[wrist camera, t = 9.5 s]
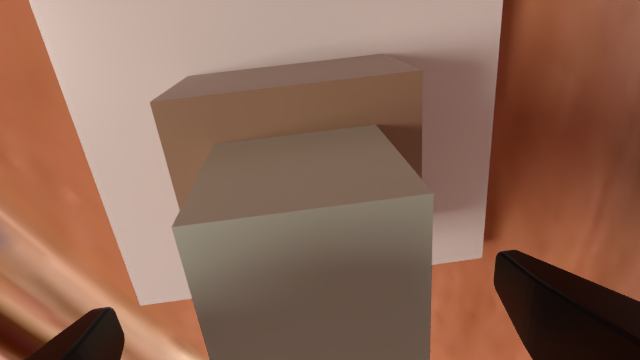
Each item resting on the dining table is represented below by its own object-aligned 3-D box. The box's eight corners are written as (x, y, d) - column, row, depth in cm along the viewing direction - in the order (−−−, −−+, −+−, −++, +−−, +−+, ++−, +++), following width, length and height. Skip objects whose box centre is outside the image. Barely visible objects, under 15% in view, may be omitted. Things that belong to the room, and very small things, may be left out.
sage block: (375, 124, 12) (433, 193, 7) (381, 258, 14) (429, 377, 10) (213, 144, 12) (171, 227, 7) (242, 277, 14) (224, 407, 9)
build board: (495, -156, 15) (637, -268, 9) (469, 242, 22) (538, 327, 16) (12, -112, 14) (-184, -202, 8) (149, 286, 21) (98, 392, 15)
